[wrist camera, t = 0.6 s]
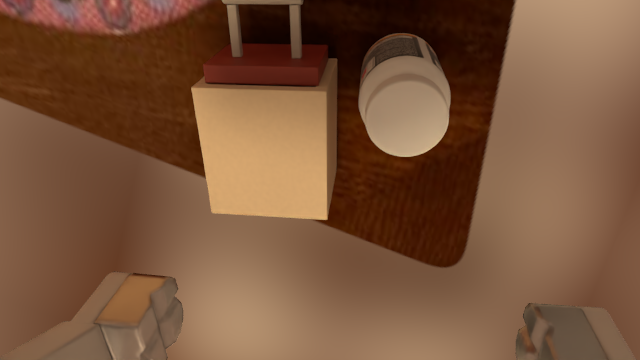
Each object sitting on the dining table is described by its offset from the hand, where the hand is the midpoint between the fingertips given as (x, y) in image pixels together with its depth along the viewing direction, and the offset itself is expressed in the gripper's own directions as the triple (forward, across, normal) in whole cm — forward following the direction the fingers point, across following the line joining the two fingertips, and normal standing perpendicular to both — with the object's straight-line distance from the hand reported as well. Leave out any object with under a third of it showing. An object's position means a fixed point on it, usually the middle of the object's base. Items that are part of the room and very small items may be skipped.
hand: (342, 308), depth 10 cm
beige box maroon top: (+26, +7, +6) cm, 27 cm away
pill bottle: (+26, -2, +2) cm, 26 cm away
